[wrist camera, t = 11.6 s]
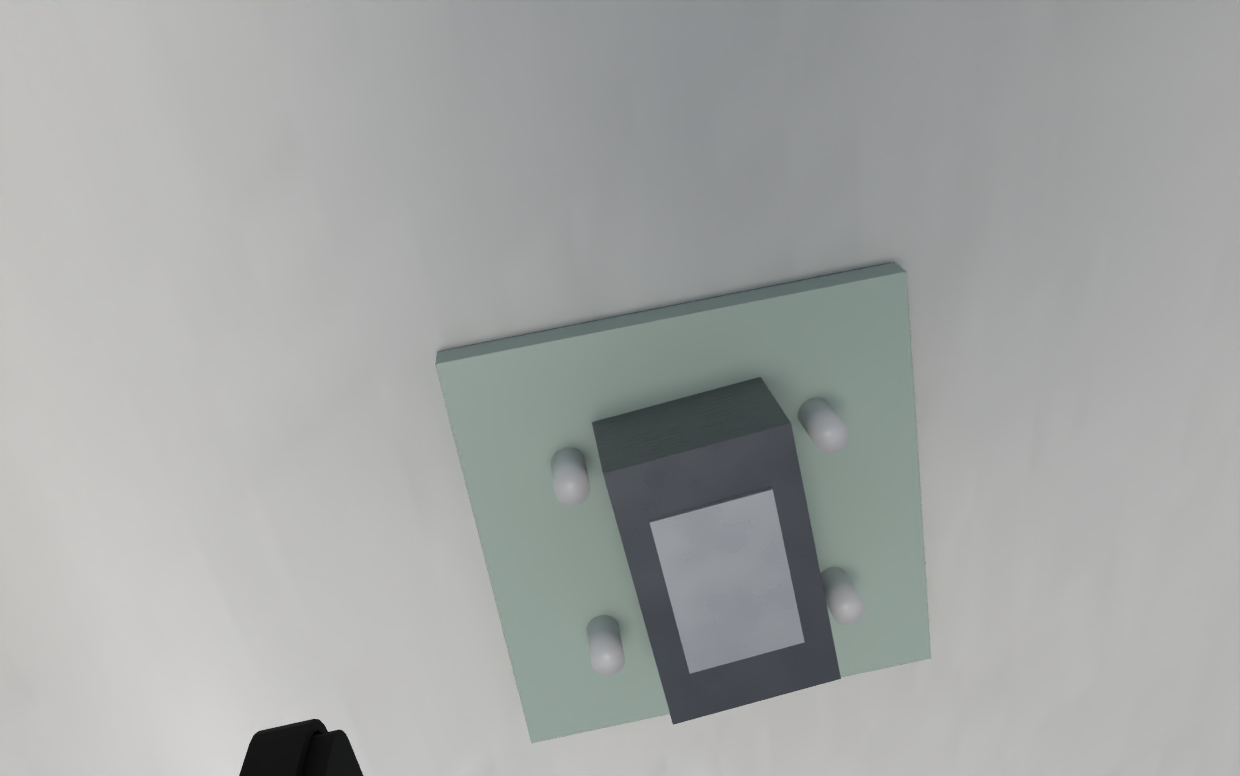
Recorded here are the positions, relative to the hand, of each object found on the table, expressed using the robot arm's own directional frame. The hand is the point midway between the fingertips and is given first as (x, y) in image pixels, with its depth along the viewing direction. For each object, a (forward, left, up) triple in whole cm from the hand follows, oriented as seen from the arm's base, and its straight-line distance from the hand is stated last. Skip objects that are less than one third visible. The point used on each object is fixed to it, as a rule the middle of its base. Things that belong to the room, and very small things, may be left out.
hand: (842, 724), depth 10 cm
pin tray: (-2, +12, -26) cm, 29 cm away
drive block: (-2, +12, -25) cm, 28 cm away
